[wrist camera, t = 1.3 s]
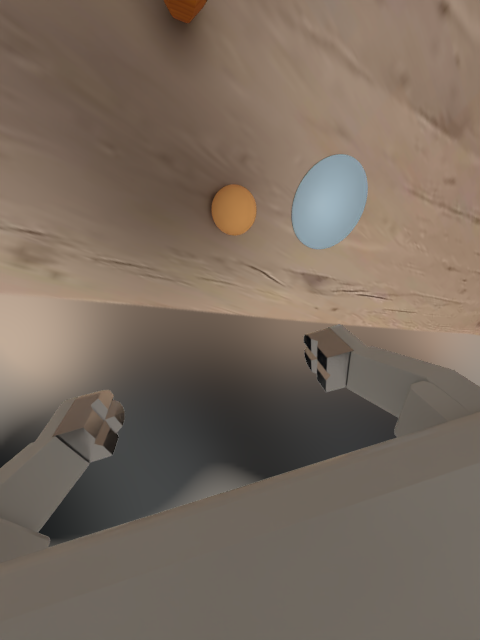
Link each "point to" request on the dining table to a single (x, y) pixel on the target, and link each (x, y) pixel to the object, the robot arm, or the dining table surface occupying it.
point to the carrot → (184, 9)
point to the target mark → (329, 201)
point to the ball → (233, 209)
